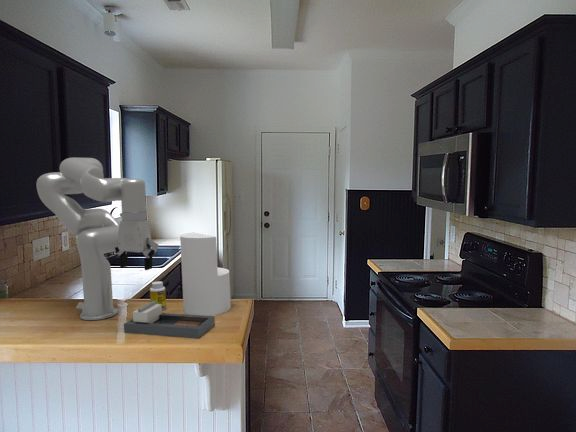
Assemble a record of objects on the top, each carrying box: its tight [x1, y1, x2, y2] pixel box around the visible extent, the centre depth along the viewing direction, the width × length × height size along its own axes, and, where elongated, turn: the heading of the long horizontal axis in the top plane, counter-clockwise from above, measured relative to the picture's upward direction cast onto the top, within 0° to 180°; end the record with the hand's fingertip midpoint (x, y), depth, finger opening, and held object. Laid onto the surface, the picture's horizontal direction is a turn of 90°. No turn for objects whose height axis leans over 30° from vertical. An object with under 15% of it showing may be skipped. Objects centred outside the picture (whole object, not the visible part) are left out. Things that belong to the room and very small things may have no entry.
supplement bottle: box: [149, 281, 167, 311], centre depth 161 cm, size 6×6×10 cm
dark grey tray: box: [123, 312, 216, 339], centre depth 140 cm, size 26×12×3 cm, turn 76°
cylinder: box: [179, 232, 232, 316], centre depth 159 cm, size 17×17×28 cm
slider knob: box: [132, 301, 163, 323], centre depth 142 cm, size 5×9×6 cm, turn 166°
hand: (136, 268), depth 143 cm, fingers open, 9 cm apart
